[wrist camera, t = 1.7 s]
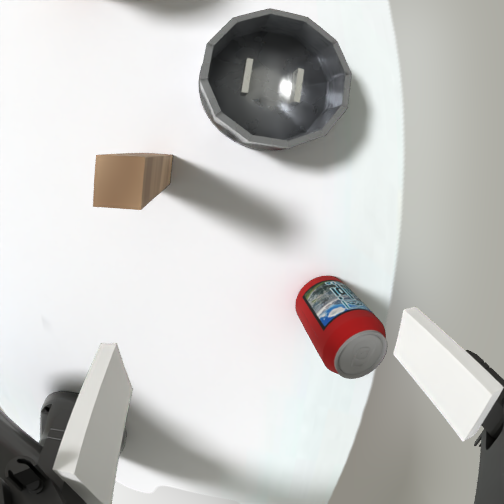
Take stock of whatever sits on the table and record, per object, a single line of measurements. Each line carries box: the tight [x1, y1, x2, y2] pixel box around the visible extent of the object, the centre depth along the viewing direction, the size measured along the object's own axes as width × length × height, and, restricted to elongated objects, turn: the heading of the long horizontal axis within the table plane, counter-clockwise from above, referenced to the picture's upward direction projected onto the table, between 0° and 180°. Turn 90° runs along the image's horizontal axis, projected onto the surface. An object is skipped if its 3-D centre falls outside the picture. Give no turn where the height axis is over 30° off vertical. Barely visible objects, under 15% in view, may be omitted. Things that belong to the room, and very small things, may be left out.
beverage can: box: [296, 276, 387, 379], centre depth 31 cm, size 7×7×12 cm
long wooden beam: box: [93, 153, 173, 210], centre depth 22 cm, size 3×3×14 cm
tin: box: [199, 9, 351, 150], centre depth 25 cm, size 14×14×5 cm
